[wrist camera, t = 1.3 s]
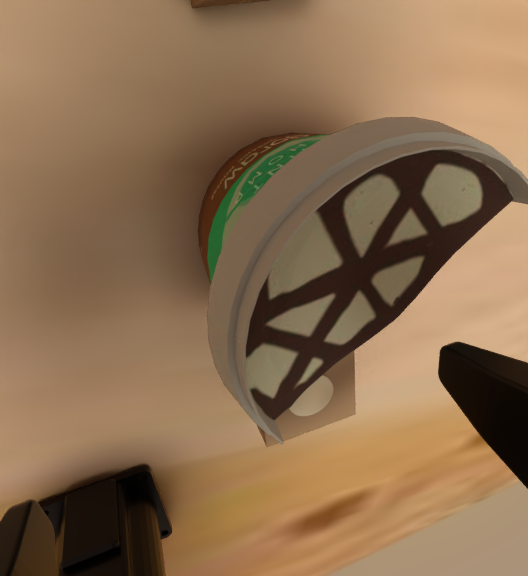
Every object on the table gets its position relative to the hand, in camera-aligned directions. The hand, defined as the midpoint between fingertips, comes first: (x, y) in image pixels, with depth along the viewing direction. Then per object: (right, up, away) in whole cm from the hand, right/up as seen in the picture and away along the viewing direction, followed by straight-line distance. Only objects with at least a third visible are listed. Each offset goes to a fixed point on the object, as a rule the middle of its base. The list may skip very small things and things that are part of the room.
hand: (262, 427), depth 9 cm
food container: (-1, +8, +12) cm, 14 cm away
